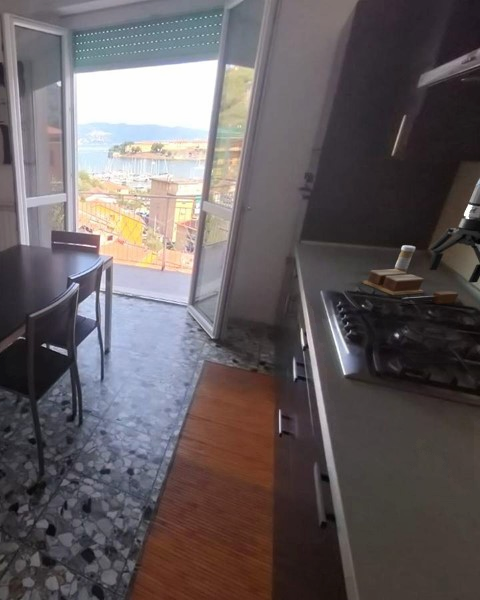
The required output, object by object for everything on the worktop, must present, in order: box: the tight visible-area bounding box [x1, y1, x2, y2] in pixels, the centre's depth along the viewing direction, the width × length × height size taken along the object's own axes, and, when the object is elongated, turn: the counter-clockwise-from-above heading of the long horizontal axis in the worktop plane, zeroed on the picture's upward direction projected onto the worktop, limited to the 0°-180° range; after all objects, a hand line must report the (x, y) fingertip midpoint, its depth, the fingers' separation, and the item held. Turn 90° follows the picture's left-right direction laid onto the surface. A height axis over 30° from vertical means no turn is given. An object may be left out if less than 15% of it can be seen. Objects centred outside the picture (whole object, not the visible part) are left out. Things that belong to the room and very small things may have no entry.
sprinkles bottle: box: [393, 244, 416, 273], centre depth 162 cm, size 5×5×14 cm
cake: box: [362, 268, 424, 296], centre depth 148 cm, size 14×14×6 cm
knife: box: [399, 290, 459, 306], centre depth 134 cm, size 23×2×4 cm, turn 99°
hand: (451, 275), depth 132 cm, fingers open, 13 cm apart
